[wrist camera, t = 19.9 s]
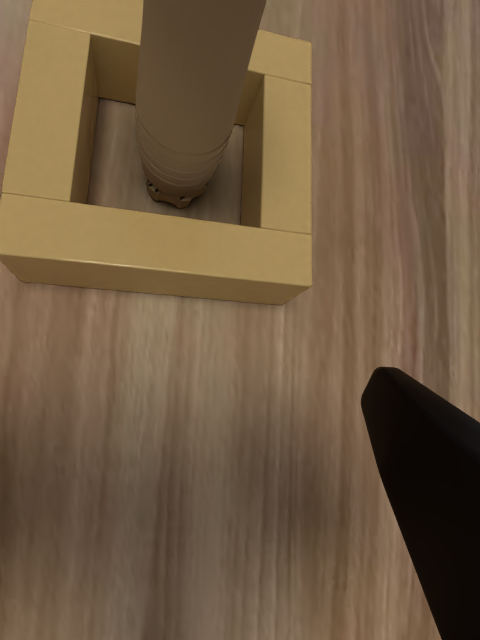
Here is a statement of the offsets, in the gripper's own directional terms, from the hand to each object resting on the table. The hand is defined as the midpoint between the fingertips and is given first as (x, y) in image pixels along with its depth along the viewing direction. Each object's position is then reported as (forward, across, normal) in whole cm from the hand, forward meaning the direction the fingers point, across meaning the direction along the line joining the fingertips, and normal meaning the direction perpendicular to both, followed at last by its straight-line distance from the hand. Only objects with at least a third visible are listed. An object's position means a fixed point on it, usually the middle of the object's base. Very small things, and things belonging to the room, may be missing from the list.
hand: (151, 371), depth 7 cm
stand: (+17, 0, +1) cm, 17 cm away
